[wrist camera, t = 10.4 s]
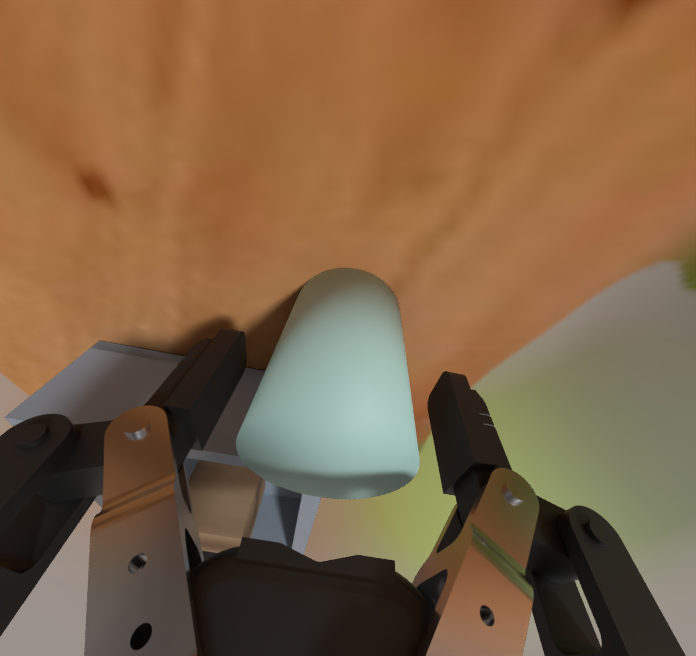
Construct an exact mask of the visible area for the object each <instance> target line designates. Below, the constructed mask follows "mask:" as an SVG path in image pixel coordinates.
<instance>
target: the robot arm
mask: <svg viewBox="0 0 696 656" xmlns="http://www.w3.org/2000/svg"><path fill="white" fill-rule="evenodd" d="M245 367H246V345H245V334H244V332H242V331H237V330H232V329H227V328H222V329H221V330H220V331H219V333H218V334H217V335H216V337H215V338H214V339H213V340H212V339H207V338H206V339H204V340H202V341H201V342H199V343H198V344H196V345H194V346H193V347H192V348H191V349H190V351H189V352H188V353H187V354H186V355H185V357H184V359H182V360H181V361H180V363H179V364H178V365H177V368H175V369H174V370H173V371H172V372H171V373H170V375H169V376H168V377H167V378H166V380H165V381H164V382H163V383H162V384H161V386H160V387H159V388H158V389H157V390H156V392H155V393H154V394H153V395H152V396H151V398H150V399H149V400H148V401H147V402H146V403H145V404H144V405H143V406H139V407H135V408H132V409H130V410H128V411H126V412H124V413H122V414H121V415H119V416H118V417H117V418H115V419H114V420H110V421H102V422H93V423H84V424H74V425H73V424H72V423H71V421H70V420H69V419H68V418H67V417H66V416H64V415H61V414H44V415H39V416H35V417H32V418H30V419H27V420H25V421H22V422H20V423H19V424H17V425H15V426H13V427H12V428H10V429H9V430H7V431H6V432H5V433H4V434H2V435H1V436H0V636H1V635H2V633H3V632H4V630H5V629H6V628H7V626H8V625H9V623H10V622H11V620H12V619H13V617H14V616H15V615H16V613H17V612H18V610H19V609H20V607H21V606H22V604H23V603H24V601H25V600H26V598H27V597H28V596H29V594H30V593H31V591H32V590H33V588H34V587H35V585H36V584H37V583H38V581H39V580H40V578H41V576H42V575H43V574H44V572H45V571H46V569H47V568H48V567H49V565H50V563H51V562H52V561H53V559H54V558H55V556H56V555H57V553H58V552H59V551H60V549H61V548H62V546H63V544H64V543H65V542H66V540H67V539H68V538H69V536H70V535H71V533H72V532H73V530H74V529H75V527H76V526H77V524H78V523H79V522H80V520H81V519H82V517H83V516H84V514H85V513H86V511H87V510H88V508H89V507H90V505H91V504H92V503H93V501H94V500H95V498H96V497H97V496H99V495H103V505H102V510H101V512H100V513H99V514H97V515H96V516H95V517H94V519H93V522H92V526H91V535H90V554H89V573H88V594H87V612H86V633H85V652H84V656H523V651H524V646H525V641H526V636H527V631H528V626H529V620H530V615H531V610H532V613H533V616H534V620H535V623H536V626H537V630H538V633H539V637H540V641H541V644H542V647H543V651H544V655H545V656H685V654H684V652H683V650H682V648H681V647H680V645H679V643H678V641H677V639H676V638H675V636H674V634H673V632H672V631H671V629H670V627H669V625H668V623H667V621H666V620H665V618H664V616H663V614H662V612H661V610H660V609H659V607H658V605H657V604H656V602H655V600H654V598H653V596H652V594H651V592H650V591H649V589H648V587H647V585H646V583H645V582H644V580H643V578H642V576H641V574H640V573H639V571H638V569H637V567H636V565H635V564H634V562H633V560H632V558H631V556H630V555H629V553H628V551H627V549H626V547H625V545H624V544H623V542H622V540H621V538H620V537H619V535H618V534H617V532H616V531H615V530H614V529H613V527H612V526H611V525H610V524H609V523H608V522H607V521H606V520H605V519H604V518H603V517H602V516H601V515H599V514H598V513H596V512H595V511H593V510H592V509H589V508H587V507H584V506H574V507H572V508H570V509H568V510H564V509H562V508H560V507H558V506H556V505H554V504H552V503H550V502H548V501H546V500H544V499H542V498H540V497H539V496H537V495H536V494H535V492H534V490H533V489H532V487H531V486H530V485H529V483H528V482H527V481H526V480H525V479H524V478H523V477H521V476H520V475H519V474H517V473H516V472H514V471H512V469H511V466H510V464H509V461H508V459H507V456H506V454H505V451H504V449H503V446H502V444H501V441H500V439H499V436H498V434H497V431H496V429H495V427H494V424H493V422H492V419H491V417H490V414H489V411H488V409H487V406H486V404H485V402H484V401H483V399H482V398H481V397H480V395H479V394H478V393H477V392H476V390H471V389H470V386H469V383H468V380H467V378H466V376H465V375H462V374H457V373H452V372H447V371H445V372H443V373H442V375H441V376H440V378H439V380H438V382H437V383H436V385H435V387H434V388H433V390H432V392H431V394H430V396H429V399H428V413H429V419H430V424H431V429H432V435H433V440H434V445H435V451H436V456H437V462H438V467H439V472H440V477H441V483H442V488H443V493H444V494H449V495H455V496H456V501H457V504H456V505H455V506H454V508H453V510H452V512H451V514H450V516H449V518H448V520H447V522H446V524H445V526H444V528H443V530H442V532H441V534H440V536H439V538H438V541H437V542H436V544H435V547H434V548H433V550H432V552H431V554H430V556H429V557H428V559H427V560H426V562H425V563H424V564H423V565H422V567H421V568H420V570H419V571H418V573H417V575H416V576H415V578H414V581H413V583H412V584H411V583H410V582H409V581H408V580H407V579H406V578H404V577H403V576H402V575H400V574H399V573H397V572H395V561H393V560H387V559H380V558H374V557H368V556H362V555H355V556H350V557H345V558H340V559H334V560H329V561H323V562H317V561H314V560H312V559H310V558H308V557H307V556H305V555H303V554H301V553H299V552H297V551H295V550H293V549H292V548H290V547H288V546H286V545H284V544H282V543H279V542H273V541H266V540H260V539H254V538H247V537H242V541H241V544H240V546H238V547H233V548H230V549H226V550H223V551H221V552H219V553H217V554H215V555H212V556H211V557H209V558H207V559H206V560H204V557H203V552H202V547H201V541H200V537H199V533H198V529H197V525H196V522H195V517H194V512H193V507H192V501H191V495H190V490H189V484H188V479H187V473H186V467H185V462H184V460H185V459H186V457H187V455H188V453H189V452H190V450H191V449H193V450H199V451H202V450H203V448H204V446H205V445H206V443H207V441H208V439H209V437H210V435H211V433H212V431H213V430H214V428H215V426H216V424H217V422H218V420H219V418H220V416H221V415H222V413H223V411H224V409H225V407H226V405H227V403H228V401H229V400H230V398H231V396H232V394H233V392H234V390H235V388H236V386H237V385H238V383H239V381H240V379H241V377H242V375H243V373H244V370H245ZM578 579H579V582H580V584H581V587H582V589H583V592H584V594H585V596H586V599H587V601H588V604H589V606H590V608H591V611H592V614H593V616H594V619H595V620H596V624H597V626H598V628H599V631H600V634H601V639H602V648H601V646H600V644H599V641H598V639H597V636H596V634H595V631H594V629H593V626H592V624H591V621H590V619H589V616H588V614H587V611H586V608H585V606H584V603H583V601H582V598H581V596H580V593H579V591H578V588H577V586H576V583H575V580H578Z"/></svg>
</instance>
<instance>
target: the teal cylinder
mask: <svg viewBox="0 0 696 656" xmlns="http://www.w3.org/2000/svg"><path fill="white" fill-rule="evenodd" d="M236 449H237V452H238V455H239V456H240V458H241V460H242V461H243V462H244V464H245V465H246V466H247V467H248V468H249V469H250V470H252V471H253V472H254V473H255V474H257V475H258V476H260V477H262V478H263V479H265V480H267V481H269V482H271V483H273V484H275V485H277V486H280V487H282V488H285V489H288V490H291V491H294V492H297V493H301V494H306V495H310V496H316V497H323V498H332V499H360V498H369V497H375V496H380V495H383V494H387V493H390V492H393V491H395V490H397V489H400V488H401V487H403V486H405V485H406V484H408V483H409V482H410V481H411V480H412V479H413V478H414V477H415V475H416V473H417V472H418V469H419V453H418V445H417V437H416V430H415V422H414V414H413V407H412V399H411V391H410V384H409V376H408V368H407V361H406V353H405V346H404V338H403V330H402V323H401V315H400V308H399V303H398V300H397V298H396V296H395V294H394V292H393V291H392V290H391V288H390V287H389V286H388V285H387V284H386V283H385V282H384V281H383V280H381V279H380V278H378V277H377V276H375V275H373V274H371V273H369V272H366V271H363V270H359V269H353V268H336V269H331V270H327V271H324V272H322V273H320V274H318V275H316V276H314V277H313V278H312V279H310V280H309V281H308V282H307V283H306V284H305V285H304V286H303V288H302V289H301V291H300V293H299V295H298V297H297V299H296V302H295V304H294V306H293V309H292V311H291V313H290V315H289V318H288V320H287V322H286V325H285V327H284V329H283V332H282V334H281V336H280V338H279V341H278V343H277V345H276V348H275V350H274V352H273V355H272V357H271V359H270V362H269V364H268V366H267V368H266V371H265V373H264V375H263V378H262V380H261V382H260V385H259V387H258V389H257V391H256V394H255V396H254V398H253V401H252V403H251V405H250V408H249V410H248V412H247V414H246V417H245V419H244V421H243V424H242V426H241V428H240V431H239V433H238V435H237V439H236Z"/></svg>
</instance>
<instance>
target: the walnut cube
mask: <svg viewBox="0 0 696 656" xmlns="http://www.w3.org/2000/svg"><path fill="white" fill-rule="evenodd" d="M188 484H189V490H190V495H191V501H192V507H193V512H194V517H195V522H196V525H197V529H198V533H199V537H200V541H201V547H202V551H208V552H215V553H219V552H221V551H223V550H226V549H230V548H233V547H238V546H240V544H241V541H242V537H247V538H251V534H252V531H253V528H254V524H255V521H256V518H257V514H258V511H259V507H260V504H261V501H262V497H263V494H264V491H265V479H263V478H262V477H260V476H258V475H257V474H255V473H254V472H253V471H252V470H250V469H249V468H246V467H240V466H234V465H228V464H222V463H216V462H210V461H204V460H199V461H198V463H197V465H196V467H195V469H194V470H193V472H192V474H191V476H190V478H189V480H188Z"/></svg>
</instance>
